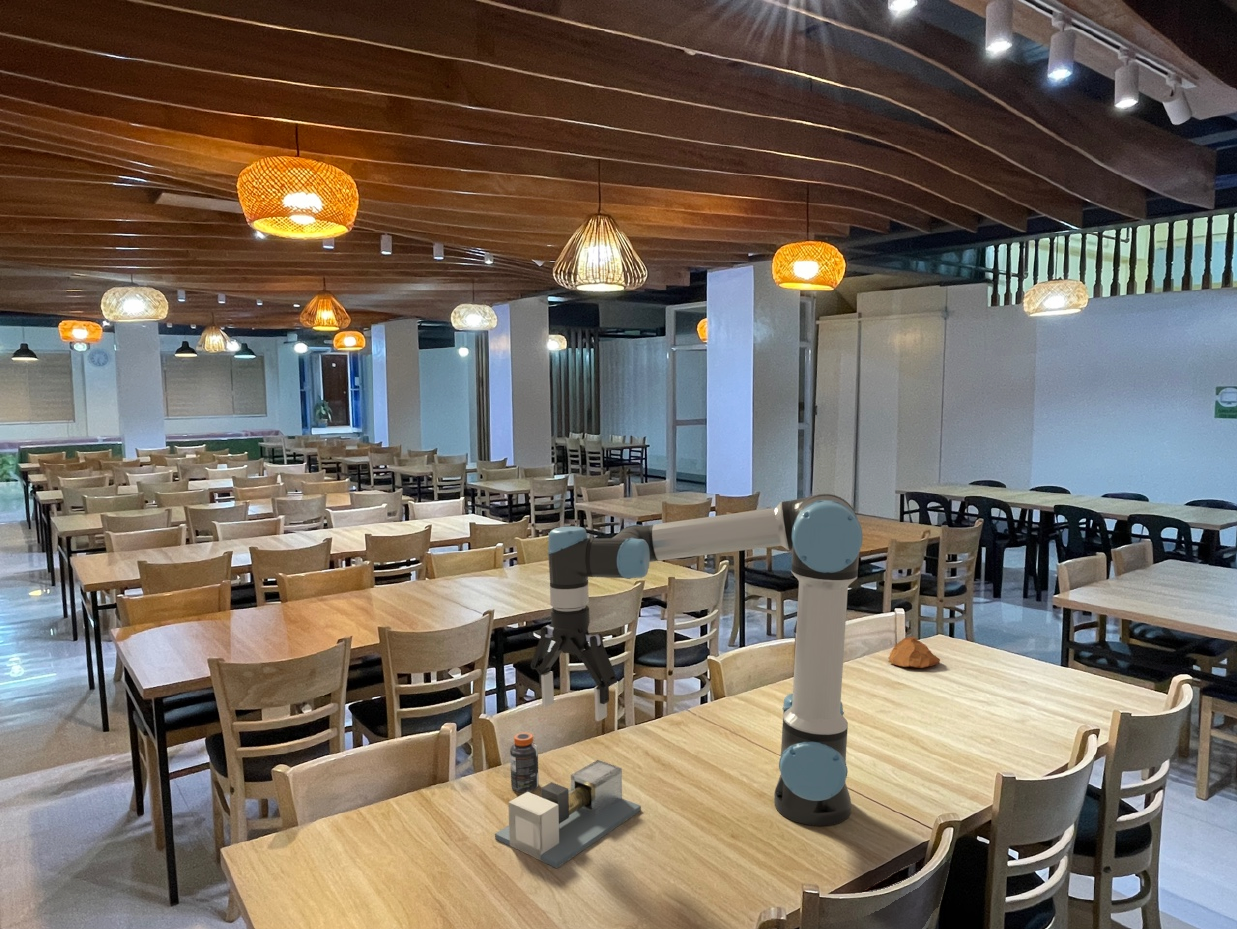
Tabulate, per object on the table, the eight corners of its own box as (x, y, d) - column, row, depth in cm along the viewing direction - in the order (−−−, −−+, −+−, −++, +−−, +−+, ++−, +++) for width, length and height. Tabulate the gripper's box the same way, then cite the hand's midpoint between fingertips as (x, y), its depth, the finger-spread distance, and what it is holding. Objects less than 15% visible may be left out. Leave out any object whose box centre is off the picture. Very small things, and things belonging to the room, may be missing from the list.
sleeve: (622, 798, 166) (621, 768, 165) (595, 815, 159) (595, 784, 158) (598, 789, 170) (597, 759, 169) (571, 805, 163) (570, 775, 162)
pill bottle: (543, 782, 175) (542, 732, 174) (531, 795, 170) (530, 743, 169) (518, 778, 177) (517, 728, 176) (506, 790, 172) (504, 739, 171)
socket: (559, 848, 150) (558, 804, 149) (540, 860, 146) (539, 815, 145) (528, 834, 155) (527, 791, 154) (509, 845, 151) (508, 802, 150)
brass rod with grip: (597, 803, 161) (596, 772, 160) (545, 836, 149) (544, 802, 149) (580, 797, 164) (580, 766, 163) (528, 829, 152) (527, 795, 151)
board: (640, 810, 163) (640, 805, 163) (556, 868, 143) (556, 863, 143) (581, 787, 173) (581, 782, 173) (495, 838, 153) (494, 833, 153)
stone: (898, 679, 241) (884, 647, 243) (890, 674, 255) (877, 644, 257) (946, 662, 240) (932, 630, 242) (935, 659, 254) (922, 628, 256)
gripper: (632, 610, 153) (636, 718, 155) (535, 594, 168) (539, 693, 170) (609, 619, 147) (613, 732, 149) (510, 602, 162) (515, 705, 164)
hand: (574, 711), depth 159 cm, fingers open, 13 cm apart
